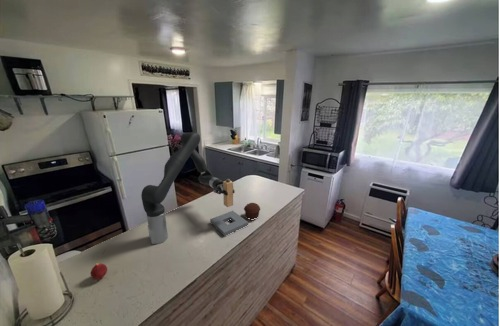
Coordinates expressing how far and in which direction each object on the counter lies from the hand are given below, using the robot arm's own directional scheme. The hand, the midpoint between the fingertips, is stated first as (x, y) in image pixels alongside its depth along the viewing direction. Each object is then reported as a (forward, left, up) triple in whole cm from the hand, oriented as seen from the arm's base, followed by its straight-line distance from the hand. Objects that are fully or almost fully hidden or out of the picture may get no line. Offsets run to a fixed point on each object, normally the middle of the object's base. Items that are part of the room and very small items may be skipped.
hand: (230, 192), depth 118 cm
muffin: (+18, 0, -24) cm, 30 cm away
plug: (0, +3, -9) cm, 10 cm away
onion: (-68, +3, -24) cm, 72 cm away
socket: (0, +2, -24) cm, 24 cm away
